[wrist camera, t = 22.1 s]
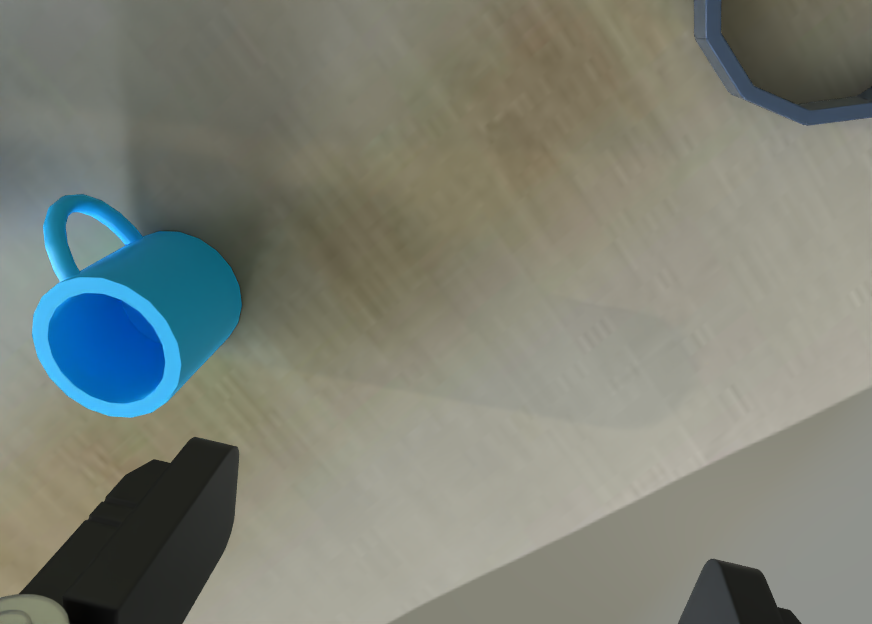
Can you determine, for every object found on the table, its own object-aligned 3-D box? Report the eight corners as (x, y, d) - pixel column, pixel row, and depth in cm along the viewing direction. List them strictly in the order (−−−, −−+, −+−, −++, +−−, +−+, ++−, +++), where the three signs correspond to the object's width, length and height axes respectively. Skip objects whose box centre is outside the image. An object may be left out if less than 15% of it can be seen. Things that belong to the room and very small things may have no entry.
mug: (266, 322, 43) (211, 385, 36) (166, 369, 46) (95, 437, 38) (156, 150, 40) (69, 180, 32) (54, 209, 42) (-48, 250, 35)
